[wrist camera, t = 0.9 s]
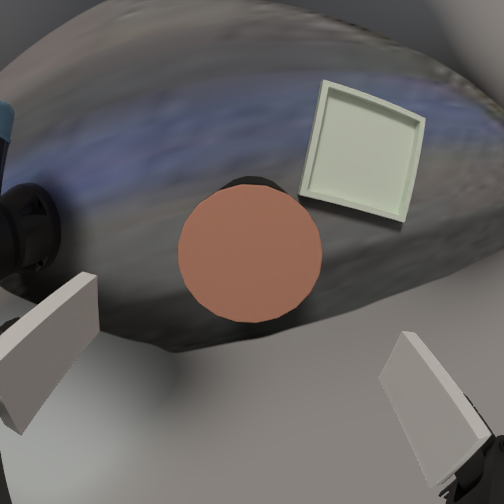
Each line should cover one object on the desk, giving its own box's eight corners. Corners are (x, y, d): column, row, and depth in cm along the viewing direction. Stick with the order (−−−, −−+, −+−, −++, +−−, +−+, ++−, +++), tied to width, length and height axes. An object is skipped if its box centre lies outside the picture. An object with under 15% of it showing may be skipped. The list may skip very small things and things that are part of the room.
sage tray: (297, 193, 37) (299, 194, 35) (320, 83, 33) (323, 79, 31) (398, 220, 38) (404, 222, 36) (419, 119, 33) (425, 118, 32)
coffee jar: (281, 262, 40) (300, 333, 23) (205, 246, 39) (169, 308, 22) (300, 185, 37) (340, 203, 20) (219, 168, 36) (189, 170, 19)
